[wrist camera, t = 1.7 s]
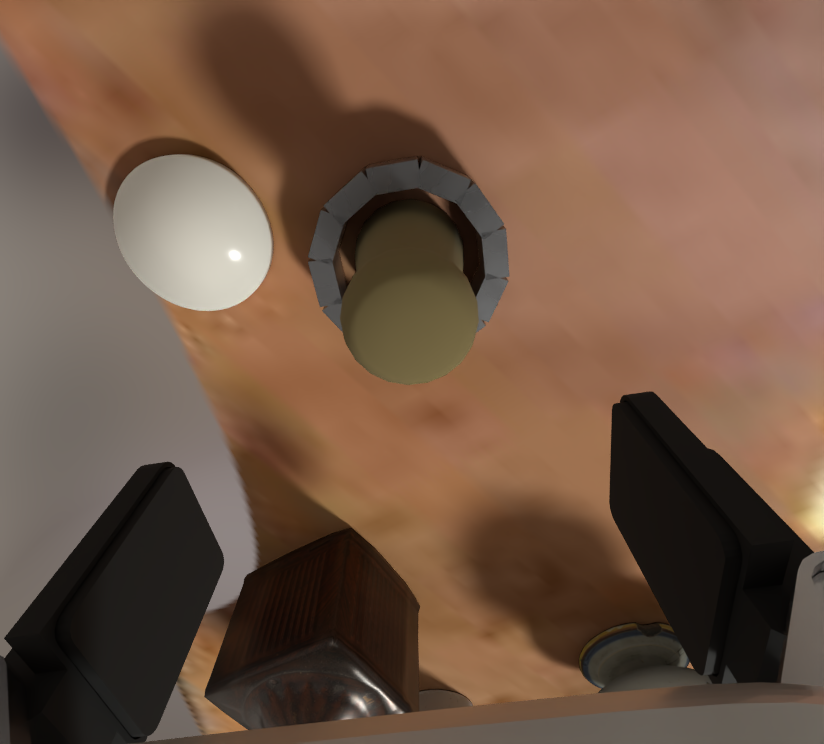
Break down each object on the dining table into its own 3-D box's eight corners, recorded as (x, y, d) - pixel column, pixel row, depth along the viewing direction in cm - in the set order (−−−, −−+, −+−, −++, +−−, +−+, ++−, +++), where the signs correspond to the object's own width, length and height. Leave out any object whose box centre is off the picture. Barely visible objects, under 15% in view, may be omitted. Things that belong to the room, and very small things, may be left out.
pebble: (94, 169, 24) (84, 170, 23) (246, 140, 24) (241, 141, 23) (158, 316, 28) (151, 320, 27) (291, 294, 27) (288, 298, 27)
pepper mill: (324, 646, 42) (273, 962, 26) (242, 573, 38) (122, 899, 22) (480, 584, 39) (529, 908, 23) (409, 495, 34) (410, 819, 18)
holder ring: (298, 177, 24) (286, 182, 22) (491, 142, 24) (500, 144, 21) (342, 350, 29) (336, 369, 27) (505, 325, 28) (514, 342, 26)
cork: (338, 218, 25) (294, 278, 16) (449, 184, 25) (474, 224, 15) (374, 320, 28) (356, 426, 18) (475, 292, 27) (511, 387, 18)
